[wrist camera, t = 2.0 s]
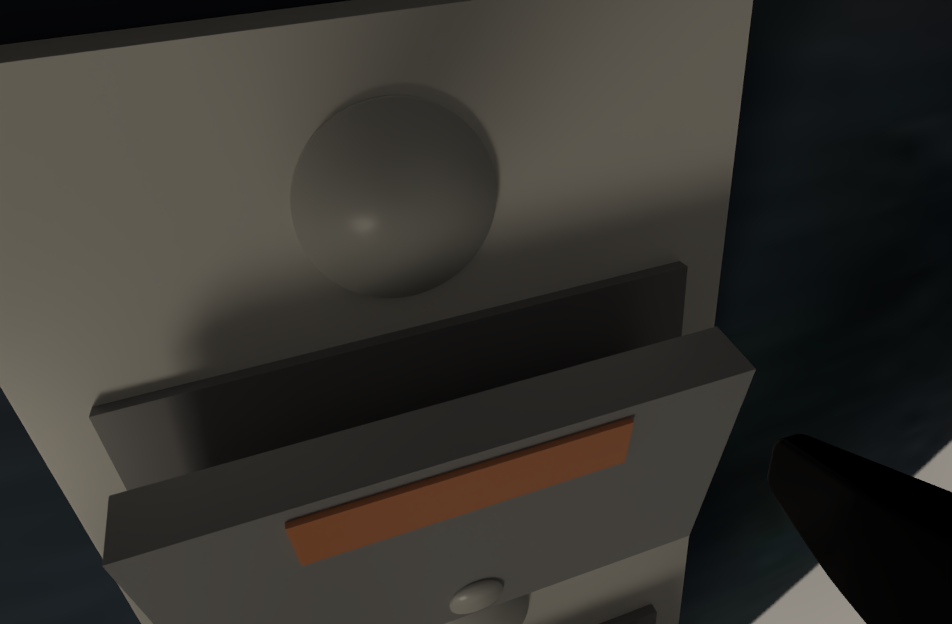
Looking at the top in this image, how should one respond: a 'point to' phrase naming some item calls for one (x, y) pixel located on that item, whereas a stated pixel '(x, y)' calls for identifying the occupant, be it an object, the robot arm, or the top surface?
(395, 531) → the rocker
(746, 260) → the top surface
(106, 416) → the double rocker switch panel
